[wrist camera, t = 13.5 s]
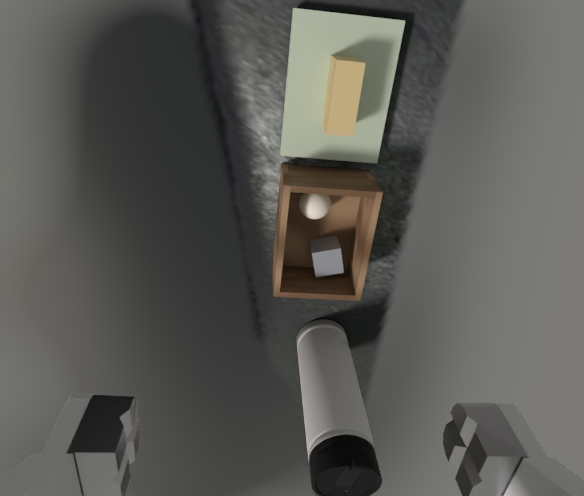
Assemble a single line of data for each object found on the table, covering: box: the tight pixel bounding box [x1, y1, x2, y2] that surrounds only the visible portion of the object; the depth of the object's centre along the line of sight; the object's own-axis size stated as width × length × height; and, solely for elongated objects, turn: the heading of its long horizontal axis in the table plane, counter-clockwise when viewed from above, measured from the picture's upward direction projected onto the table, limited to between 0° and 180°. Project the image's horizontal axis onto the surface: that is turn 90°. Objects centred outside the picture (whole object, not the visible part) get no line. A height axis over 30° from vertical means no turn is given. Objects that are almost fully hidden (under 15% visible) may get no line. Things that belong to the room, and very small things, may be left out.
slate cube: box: [309, 235, 344, 277], centre depth 47 cm, size 3×3×3 cm
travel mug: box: [297, 319, 382, 496], centre depth 47 cm, size 6×7×20 cm
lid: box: [280, 8, 405, 163], centre depth 39 cm, size 13×10×5 cm
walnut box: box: [272, 164, 383, 301], centre depth 45 cm, size 12×9×6 cm
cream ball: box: [299, 193, 331, 219], centre depth 44 cm, size 3×3×3 cm
